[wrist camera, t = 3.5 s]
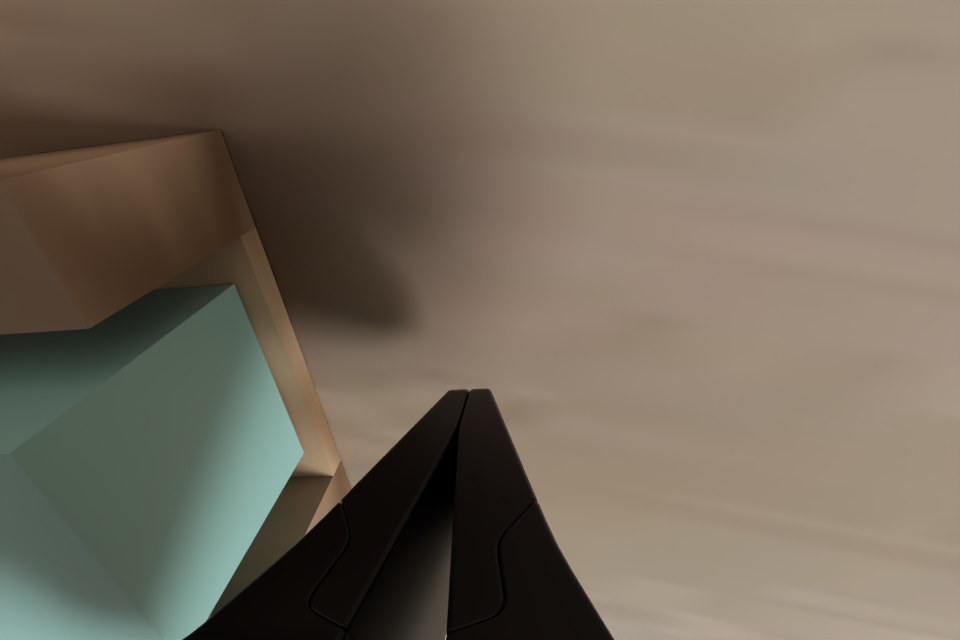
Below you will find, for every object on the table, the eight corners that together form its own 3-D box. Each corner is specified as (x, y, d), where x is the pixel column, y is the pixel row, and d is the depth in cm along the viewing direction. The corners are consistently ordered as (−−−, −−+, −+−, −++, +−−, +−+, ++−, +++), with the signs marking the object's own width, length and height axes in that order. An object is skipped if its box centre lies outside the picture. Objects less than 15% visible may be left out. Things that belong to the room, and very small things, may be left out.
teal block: (303, 452, 12) (182, 662, 8) (140, 455, 13) (-52, 649, 9) (234, 284, 10) (9, 453, 6) (39, 298, 11) (-292, 459, 6)
